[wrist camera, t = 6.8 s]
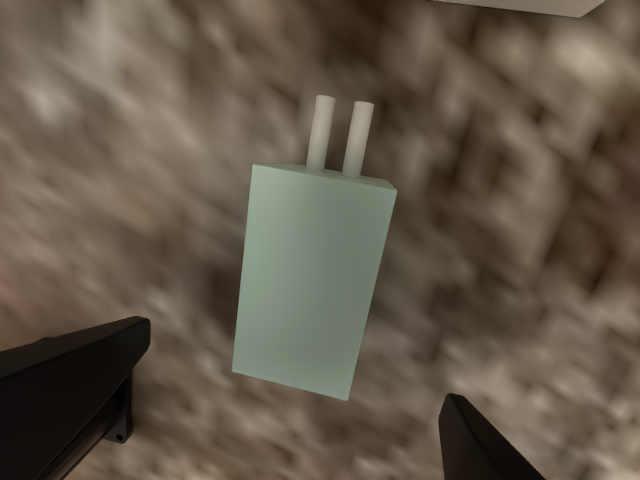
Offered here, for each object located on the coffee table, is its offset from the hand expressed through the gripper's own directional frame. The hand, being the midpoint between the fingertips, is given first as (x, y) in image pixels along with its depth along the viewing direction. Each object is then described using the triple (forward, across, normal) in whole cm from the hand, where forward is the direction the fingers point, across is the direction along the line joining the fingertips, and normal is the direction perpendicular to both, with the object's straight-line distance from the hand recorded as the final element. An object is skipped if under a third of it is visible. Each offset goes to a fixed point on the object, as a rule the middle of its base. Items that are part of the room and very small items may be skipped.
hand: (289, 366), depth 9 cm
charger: (+7, 0, -3) cm, 7 cm away
